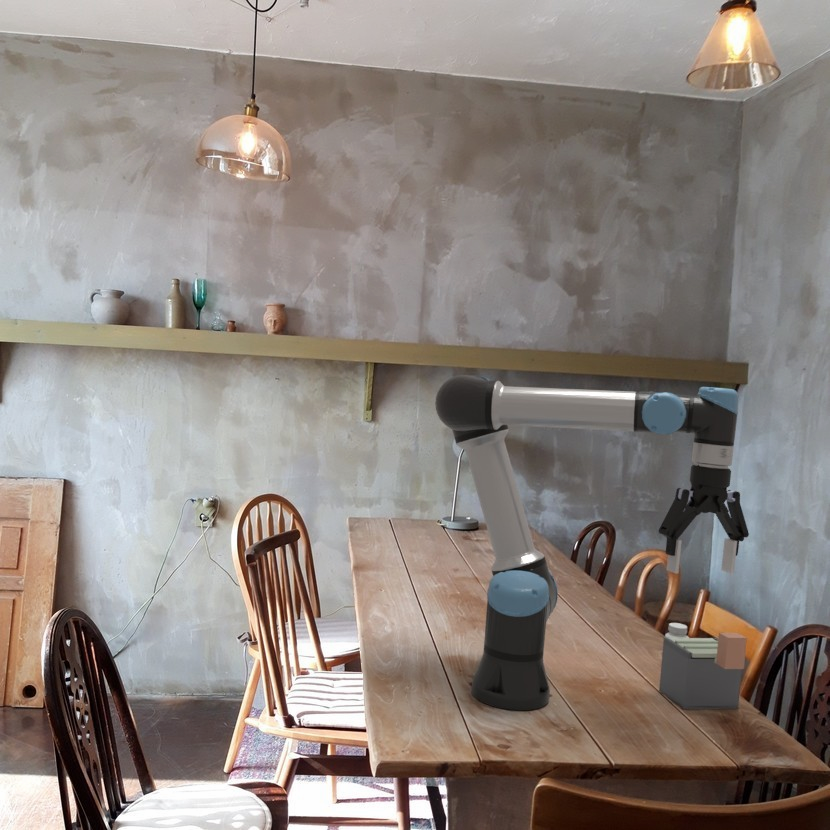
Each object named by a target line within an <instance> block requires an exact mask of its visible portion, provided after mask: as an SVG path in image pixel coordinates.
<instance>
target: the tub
mask: <svg viewBox="0 0 830 830" xmlns="http://www.w3.org/2000/svg"><path fill="white" fill-rule="evenodd" d="M713 639H714V640H716V641H718V637H713ZM661 653H662V656H661V664H660V665H661V666H660V675H659V678H660V679H659V690H658V691H659V692H660V693H661V694H662V695H664V696H665V697H666V698H667V699H669V700H670V701H672V702H673V703H674V704H676V705H677V706H679V707H680V708H681V709H682V710H732V709H733V710H734V709H735V710H736V709H737V710H738V709H739V703H740V692H741V681H742V670H743V669H724V668H722V667H721V666H719V665H718V664H716V663H714V662H715V658H692V657H691V653H690V652H689V651H687V650H686V649H684V648H682V647H681V646H679V645H678V644H676V643H674V642H673V641H671V640H670V639H668V638H667V637H665V636H664V637H663V644H662V652H661Z"/></svg>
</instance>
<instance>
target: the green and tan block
mask: <svg viewBox="0 0 830 830" xmlns="http://www.w3.org/2000/svg"><path fill="white" fill-rule="evenodd" d="M668 639H670V640H671V641H673V642H674V643H676V644H678V645H679V646H681V647H682V648H684V649H686V650H687V651H689V652H690V653H691V657H692V658H715V662H714V663H716V664H718V665H719V666H721V667H722V668H724V669H742V670H744V669H745V663H746V652H747V639H748V638H747V637H746V636H744V635H742V634H740V633H739V632H718V637H717V639H718V641H716V640H714V637H703V638H702V637H689V638H668Z"/></svg>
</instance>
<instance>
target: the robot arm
mask: <svg viewBox="0 0 830 830" xmlns="http://www.w3.org/2000/svg"><path fill="white" fill-rule="evenodd" d="M434 403H435V410H436V414H437V416H438V418H439V419H440V421H441V422H442V424H443V425H445V426H446V427H447V428H449V429H450V430H452V435H453V438H454V441H455V444H456V445H457V447H459V448H461V449H463V450H464V452H465V454H466V458H467V461H468V464H469V467H470V468H469V469H470V471H471V475H472V479H473V482H474V486H475V490H476V492H477V497H478V501H479V504H480V507H481V511H482V514H483V518H484V521H485V526H486V528H487V533H488V536H489V539H490V540H489V541H490V543H491V548H492V551H493V554H494V558H495V560H494V562H493V564H492V566H491V569H490V570H491V573H492V576H491V578H490V581H489V584H488V588H487V590H486V598H487V603H486V615H485V627H484V628H485V630H484V642H483V643H484V644H483V651H482V652H483V653H482V656H481V657H480V660H479V662H478V665H477V667H476V670H475V673H474V675H473V677H472V679H471V694H472V696H474V698H475V699H477V700H478V701H480V702H481V703H483V704H486V705H489V706H492V707H495V708H498V709H499V708H500V709H505V710H513V711H531V710H536V709H541V708H543V707H545V706H547V705H548V703H549V701H550V690H551V689H550V684H549V681H548V676H547V672H546V671H547V670H546V668H545V664H544V663H545V662H544V650H545V642H546V641H545V639H546V629H547V628H546V626H547V621H548V619H549V618H550V616H551V615H552V613H553V612H554V610H555V608H556V605H557V602H558V595H559V591H558V585H557V581H556V579H555V577H554V575H553V574H552V573H551V571H550V570H549V567H548V564H547V560H546V557H545V554H544V553H542V552H541V551H539V550H537V549H536V548H535V544H534V540H533V537H532V535H531V530H530V527H529V523H528V519H527V516H526V512H525V509H524V505H523V503H522V499H521V494H520V492H519V488H518V484H517V481H516V477H515V473H514V471H513V466H512V463H511V459H510V456H509V452H508V450H507V445H506V442H505V439H506V436H507V435H508V433H509V430H510V429H509V426H521V427H537V428H538V427H541V428H559V429H560V428H561V429H563V428H565V429H579V430H582V429H583V430H596V431H597V430H599V431H617V432H618V431H619V432H636V433H650V434H654V433H655V434H657V435H671V434H674V433H685V434H693V435H694V438H693V443H692V453H691V455H692V456H691V462H692V463H693V464H692V465H690V474H689V482H690V485H691V486H690V489H686V488H683V487H678V488H677V489H676V492H675V496H674V500H673V502H672V504H671V506H670V507H669V509H668V512H667V513H666V515H665V517H664V519H663V521H662V523H661V524H660V527H659V529H658V534H660V535H663V536H664V537H665V538H666V545H665V546H666V547H665V554H666V555H667V559H666V560H667V562H666V567H665V568H666V572H671V573H673V574H677V575H678V574H679V573H680V564H681V563H680V561H681V553H682V551H681V550H682V542H683V540H681V539H679V538H681V535H683V533H684V532H685V530H686V529H687V528H688V527H689V526H690V524H691V523H692V522H693V521H694V519H695V518H696V517H697V516H700V515H701V514H702V513H703V514H709V513H711V514H715V516H716V518H717V519H718V521H719V523H720V525H721V526H722V528H723V530H724V531H725V533H726V535H727V537H728V538H727V537H725V538H724V541H723V550H722V559H721V571H723V572H726V573H729V574H734V573H735V565H736V557H737V556H738V554H739V547H740V542H743V541H744V540H745V538H748V537H749V535H750V533H749V529H748V526H747V523H746V520H745V515H744V512H743V510H742V505H741V493H740V492H739V491H736V490H732V489H727V488H729V487H730V485H731V478H732V476H731V475H732V470H731V468H729V467H731V466H732V465H733V456H734V448H735V446H734V445H735V438H736V430H737V429H736V428H737V421H738V414H739V412H738V410H739V408H738V407H739V393H738V392H737V390H735V389H733V388H725V387H712V386H711V387H709V386H701V387H699V389H698V393H697V395H685V394H678V393H677V394H676V393H673V392H669V391H667V392H666V391H662V392H661V391H659V392H656V391H631V390H630V391H628V390H627V391H626V390H625V391H623V390H607V389H606V390H604V389H601V390H599V389H580V388H579V389H577V388H556V387H555V388H554V387H551V388H550V387H531V386H529V387H528V386H510V385H509V386H507V385H506V386H505V385H504V384H503V383H502V382H501V381H500V380H491V379H489V378H487V377H485V376H482V375H481V376H480V375H476V374H475V375H474V374H473V375H468V374H458V375H455V376H452V377H450V378H449V379H447V380H446V381H445V382H443V383H441V385H440V387H439V388H438V390H437V393H436V396H435V402H434ZM725 502H726V504H725Z"/></svg>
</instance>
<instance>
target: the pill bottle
mask: <svg viewBox="0 0 830 830" xmlns="http://www.w3.org/2000/svg"><path fill="white" fill-rule="evenodd" d="M667 629H668V631H669V632H667V633H665V635H664V637H667V638H690V637H689V636H688V635H687V633H688V626H687V625H686V624H683V623H679V622H671V623H668V628H667Z"/></svg>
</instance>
